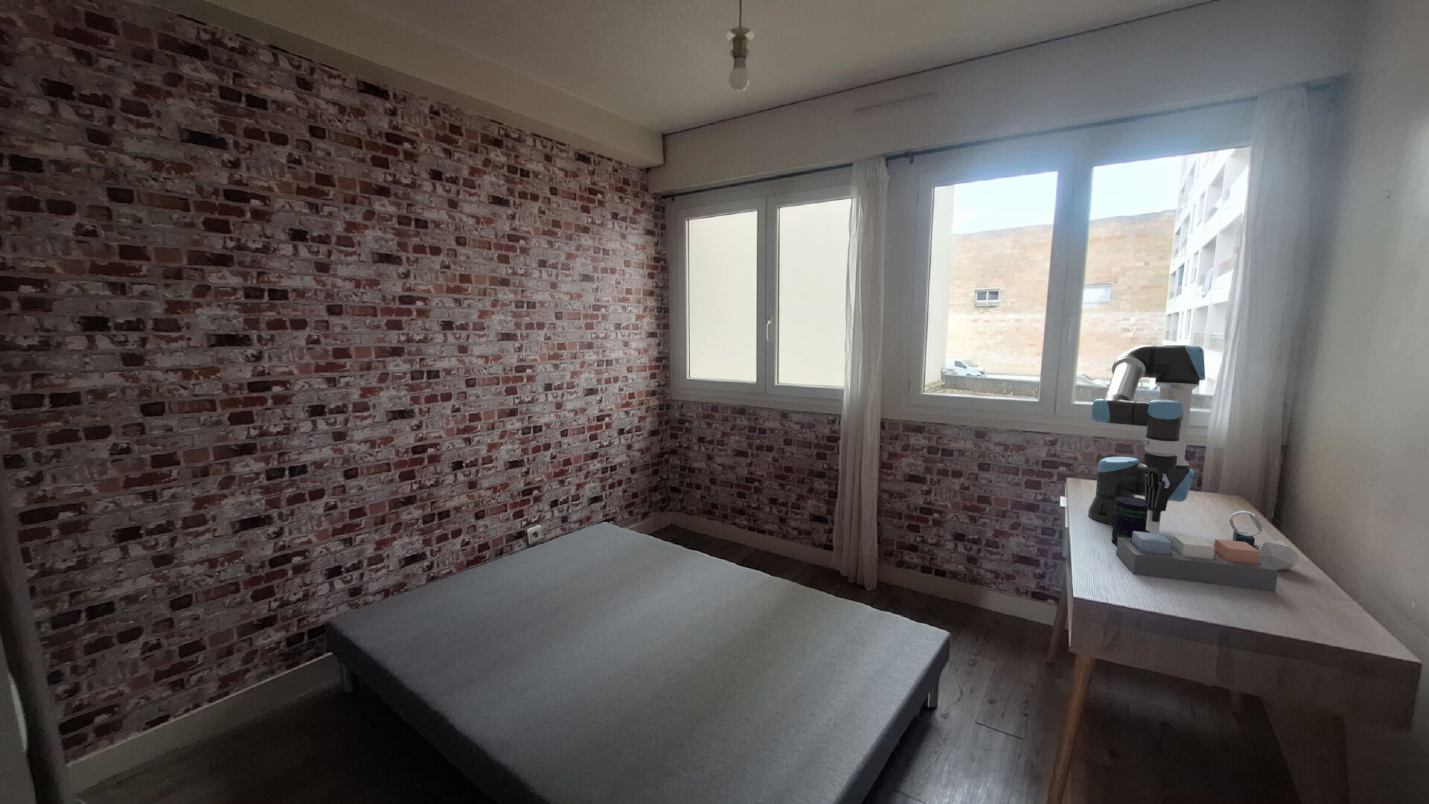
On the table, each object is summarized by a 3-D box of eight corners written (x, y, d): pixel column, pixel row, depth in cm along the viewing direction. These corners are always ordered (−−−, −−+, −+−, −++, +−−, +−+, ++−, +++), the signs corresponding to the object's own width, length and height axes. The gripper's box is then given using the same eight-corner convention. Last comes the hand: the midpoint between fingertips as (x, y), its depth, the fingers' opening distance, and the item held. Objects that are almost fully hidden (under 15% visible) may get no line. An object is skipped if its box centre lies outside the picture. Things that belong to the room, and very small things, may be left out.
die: (1275, 563, 164) (1252, 536, 166) (1311, 559, 157) (1287, 531, 158) (1267, 578, 160) (1244, 551, 162) (1303, 576, 153) (1279, 547, 154)
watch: (1262, 549, 172) (1266, 516, 171) (1227, 543, 177) (1231, 511, 176) (1258, 544, 177) (1263, 511, 175) (1225, 538, 182) (1229, 507, 180)
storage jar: (1133, 538, 182) (1137, 496, 180) (1156, 550, 173) (1161, 505, 170) (1103, 538, 182) (1107, 496, 180) (1125, 550, 173) (1129, 505, 171)
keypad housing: (1116, 554, 170) (1117, 536, 169) (1245, 569, 159) (1247, 550, 158) (1133, 574, 157) (1135, 554, 156) (1275, 591, 146) (1278, 570, 145)
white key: (1171, 550, 162) (1173, 535, 161) (1200, 553, 159) (1202, 537, 158) (1182, 560, 155) (1184, 543, 154) (1212, 563, 153) (1214, 547, 152)
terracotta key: (1213, 555, 158) (1215, 539, 157) (1243, 558, 156) (1245, 542, 155) (1226, 565, 152) (1228, 548, 151) (1257, 568, 149) (1260, 551, 149)
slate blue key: (1131, 546, 165) (1132, 531, 164) (1159, 549, 163) (1160, 533, 162) (1140, 555, 158) (1142, 539, 158) (1169, 559, 156) (1171, 542, 155)
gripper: (1136, 447, 164) (1128, 522, 167) (1154, 457, 151) (1145, 537, 155) (1166, 449, 161) (1158, 524, 164) (1187, 459, 149) (1178, 540, 152)
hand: (1152, 530), depth 159 cm, fingers closed
